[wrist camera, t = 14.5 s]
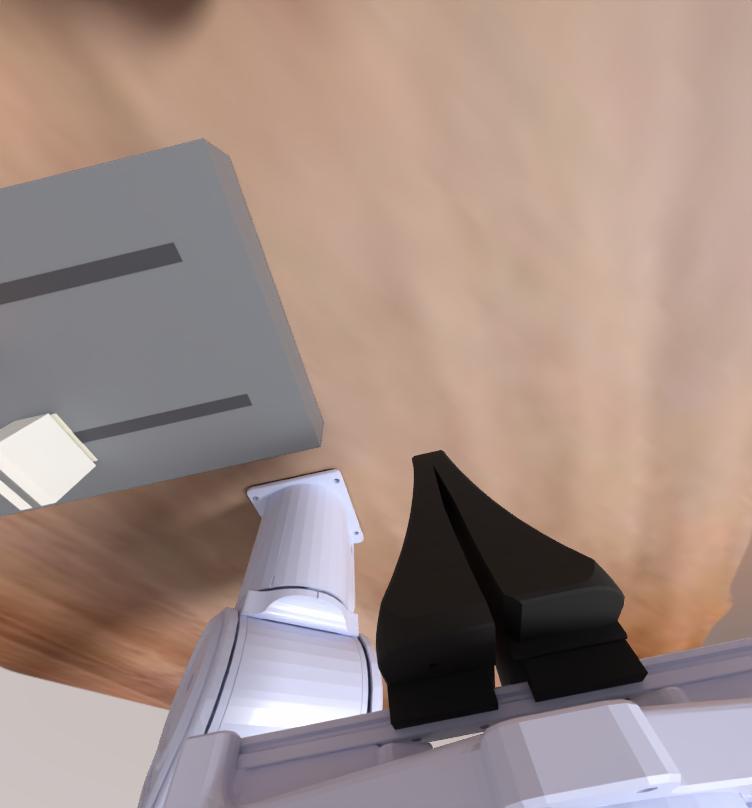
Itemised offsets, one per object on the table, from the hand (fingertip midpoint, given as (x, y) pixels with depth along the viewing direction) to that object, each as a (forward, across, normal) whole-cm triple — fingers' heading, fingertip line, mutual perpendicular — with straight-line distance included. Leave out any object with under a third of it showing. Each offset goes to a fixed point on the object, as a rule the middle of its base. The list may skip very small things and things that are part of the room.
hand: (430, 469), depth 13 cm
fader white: (+6, +21, -3) cm, 22 cm away
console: (+9, +18, -6) cm, 21 cm away
